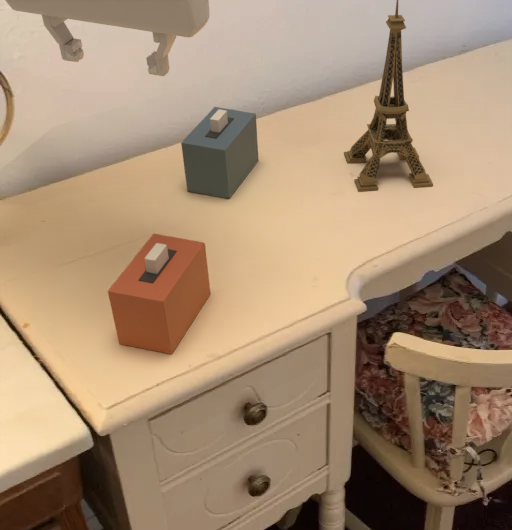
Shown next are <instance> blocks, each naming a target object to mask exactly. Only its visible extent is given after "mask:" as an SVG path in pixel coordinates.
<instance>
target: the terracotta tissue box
mask: <svg viewBox="0 0 512 530" xmlns="http://www.w3.org/2000/svg"><path fill="white" fill-rule="evenodd" d="M208 268H209V267H208V259H207V251H206V243H205V242H204V241H199V240H194V239H193V240H192V239H188V238H182V237H175V236H170V235H165V234H159V233H152V235H151V236H150V237H149V239H148V240H147V241H146V242H145V243H144V245H143V246H142V247H141V248H140V249H139V251H138V252H137V254H136V255H134V257H133V258H132V260H131V261H130V262H129V264H128V265H127V266H126V267H125V268H124V270H123V271H122V272H121V274H120V275H119V276H118V277H117V278H116V280H115V281H114V282H113V284H112V285H111V286H110V287H109V289H108V290H107V295H108V300H109V302H110V303H109V304H110V309H111V313H112V318H113V322H114V326H115V331H116V335H117V340H118V344H119V345H123V346H129V347H133V348H139V349H144V350H149V351H152V352H153V351H154V352H158V353H164V354H168V355H172V354H173V353H174V351H175V350H176V349H177V347H178V346H179V344H180V342H181V340H182V339H183V337H184V336H185V334H186V333H187V332H188V330H189V329H190V327H191V325H192V324H193V322H194V320H195V319H196V317H197V316H198V315H199V313H200V311H201V310H202V308H203V307H204V305H205V303H206V302H207V300H208V299H209V297H210V296H211V286H210V275H209V269H208Z"/></svg>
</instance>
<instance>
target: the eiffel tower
mask: <svg viewBox="0 0 512 530" xmlns="http://www.w3.org/2000/svg"><path fill="white" fill-rule="evenodd" d="M387 17H388V19H387V20H386V21H385V23H386V26H387V28H389V35H388V43H387V47H386V55H385V61H384V67H383V71H382V77H381V83H380V87H379V88H380V89H379V95H374V98H373V104H374V107H375V110H374V113H373V116H372V120H371V121H370V123H366V125H367V130H366V131H365V132H364V133H363V134H362V135H361V136H360V137H359V138H358V139H357V140H356V141H355V143H353V144H352V146H351V147H350V149H349V150H347V151H343V155H344V158H345V161H346V163H347V164H357V163H366V164H365V166H364V167H363V168H362V170H361V171H360V173H359V175H358V176H357V178H354V180H353V181H354V184H355V187H356V189H357V192H369V191H370V192H371V191H378V190H379V186H378V181H377V176H378V175H377V174H378V171H379V167H380V162H381V159H382V158H383V157H385V156H386V155H388V154H391V153H395V154H396V153H397V155H398V157H399V159H400V161H403V160H405V162H406V164H407V166H408V168H409V170H410V172H409V175H408V178H409V181H410V182H411V185H412V187H413V188H427V187H434V183H433V181H432V179H431V177H430V175H429V173H426V169H425V168H424V166H423V164H422V162H421V160H420V156H419V153H418V152H417V150H416V148H415V147H414V146H413V144H412V143H413V142H414V141H413V140H414V139H413V138H412V136H411V135H410V132H409V130H408V119H407V112H410V109H409V104H408V103H407V102H406V100H405V92H404V91H405V90H404V72H403V51H402V50H403V49H402V48H403V47H402V46H403V43H402V31H403V30H405V29H407V26H406V24H405V21H406V20H405V18H404V16H403V15H402V14H399V0H396V3H395V13H394V14H387ZM392 87H393V96H391V95H392ZM392 119H393V120H394V121H395V123H387V121H388V120H392ZM370 150H371V154H372V155H371V157H370V158H369V160H368V161H367V156H366V154H367V153H369V151H370Z"/></svg>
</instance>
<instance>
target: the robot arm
mask: <svg viewBox="0 0 512 530" xmlns="http://www.w3.org/2000/svg"><path fill="white" fill-rule="evenodd" d="M5 2H6V3H7V4H8V6H9V7H10V8H11V9H12V10H13V11H16V12H21V13H28V14H34V15H41V17H42V22H43V26H44V27H45V29H46V30H47V32H49V34H50V36H51V37H52V38H53V39H54V41H55V42H56V43H57V44H58V47H59V51H60V56H61V59H62V61H66V62H74V63H78V62H79V61H81V60H82V59H83V58H84V56H85V55H84V54H85V53H84V50H83V48H82V47H83V44H82V43H83V42H82V39H81V38H80V39H79V38H75V37H74V36H73V34H72V33H71V31H70V30H69V28H68V26H67V24H66V23H65V21H67V20H74V21H80V22H87V23H93V24H99V25H106V26H112V27H118V28H125V29H132V30H138V31H145V32H151V33H152V38H153V42H154V43H156V44H159V45H158V47H157V49H156V51H155V50H153V52H152V53H151V54H149V55H148V56H147V57H146V59H145V60H146V65H147V66H148V68H147V72H148V74H149V75H153V76H158V77H165V76H166V75H167V74H168V73H169V72H170V62H169V54H170V52H171V50H172V48H173V45H174V43H175V41H176V39H177V37H182V38H192V37H194V36H196V34H198V33H199V32H200V31H201V30H202V29H204V27H205V26H206V25H207V23H208V21H209V19H210V1H209V0H5Z"/></svg>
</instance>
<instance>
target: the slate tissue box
mask: <svg viewBox="0 0 512 530" xmlns="http://www.w3.org/2000/svg"><path fill="white" fill-rule="evenodd" d="M257 125H258V124H257V113H254V112H247V111H242V110H238V109H237V110H236V109H231V108H224V107H218V106H214V107H213V108H212V109H211V110H210V111H209V112H208V113H207V115H205V116H204V117H203V119H201V121H199V123H198V124H197V125H196V126H195V127H194V128H193V129H192V130H191V131H190V133H189V134H187V136H185V138H184V139H183V140H182V141H181V142H180V143H181V144H180V145H181V152H182V161H183V169H184V176H185V183H186V184H185V185H186V191H187V192H191V193H195V194H196V193H197V194H201V195H206V196H212V197H217V198H223V199H227V200H229V199H231V198H232V196H233V195H234V193H235V192H236V190H238V188H239V187H240V186H241V184H242V182H244V180H245V179H246V177H247V176H248V175H249V174H250V173H251V171H252V170H253V168H254V167H255V166H256V164H257V163H258V162H259V147H258V146H259V144H258V128H257Z"/></svg>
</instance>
